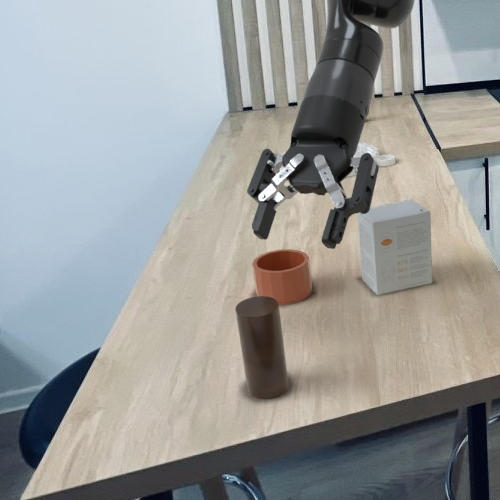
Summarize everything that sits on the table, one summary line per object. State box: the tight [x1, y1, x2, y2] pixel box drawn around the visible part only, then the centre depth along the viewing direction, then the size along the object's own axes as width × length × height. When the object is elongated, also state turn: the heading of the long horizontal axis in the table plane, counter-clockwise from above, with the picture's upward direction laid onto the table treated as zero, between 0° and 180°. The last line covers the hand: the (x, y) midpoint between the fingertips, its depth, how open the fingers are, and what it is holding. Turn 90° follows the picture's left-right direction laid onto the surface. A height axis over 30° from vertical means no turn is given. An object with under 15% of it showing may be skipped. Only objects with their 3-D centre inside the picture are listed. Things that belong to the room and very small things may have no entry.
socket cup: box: [251, 248, 313, 306], centre depth 89 cm, size 8×8×5 cm
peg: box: [234, 295, 290, 400], centre depth 68 cm, size 4×4×10 cm
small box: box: [357, 198, 433, 296], centre depth 87 cm, size 8×6×10 cm
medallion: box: [275, 142, 396, 178], centre depth 145 cm, size 24×27×2 cm
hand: (292, 241), depth 71 cm, fingers open, 8 cm apart
